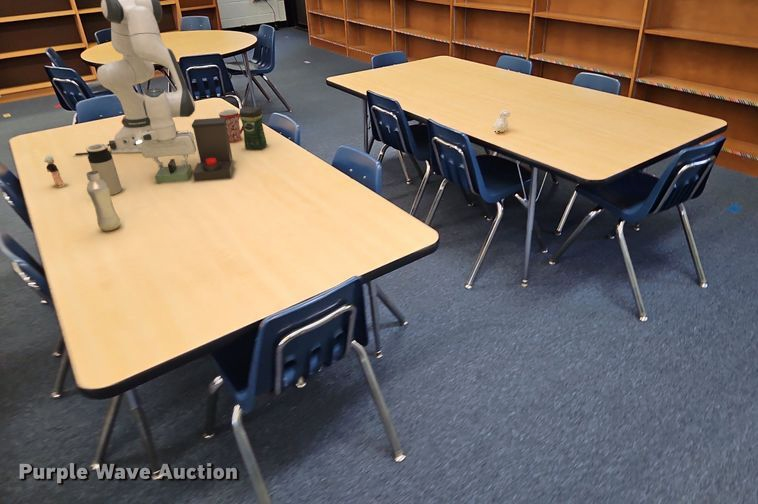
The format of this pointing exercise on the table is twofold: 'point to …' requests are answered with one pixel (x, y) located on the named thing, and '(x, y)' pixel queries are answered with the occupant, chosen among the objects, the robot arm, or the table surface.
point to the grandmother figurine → (54, 171)
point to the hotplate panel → (174, 174)
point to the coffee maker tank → (212, 139)
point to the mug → (232, 124)
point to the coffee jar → (253, 128)
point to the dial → (172, 166)
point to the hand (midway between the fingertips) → (173, 165)
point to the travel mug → (104, 166)
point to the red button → (211, 161)
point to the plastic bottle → (102, 201)
